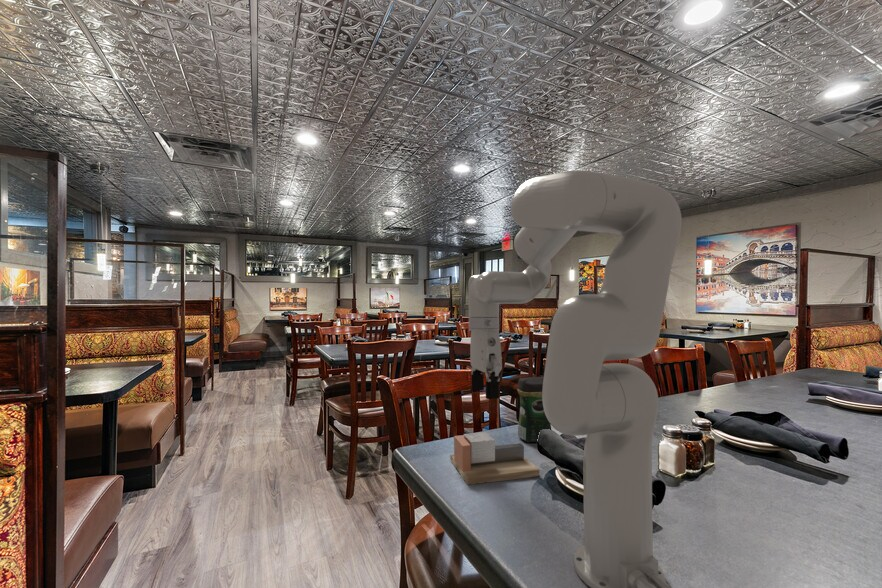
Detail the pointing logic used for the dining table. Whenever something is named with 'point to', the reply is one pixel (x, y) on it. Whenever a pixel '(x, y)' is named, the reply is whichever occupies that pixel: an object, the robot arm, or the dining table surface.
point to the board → (498, 471)
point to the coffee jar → (531, 409)
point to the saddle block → (481, 447)
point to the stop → (462, 453)
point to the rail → (506, 454)
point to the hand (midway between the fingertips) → (484, 394)
